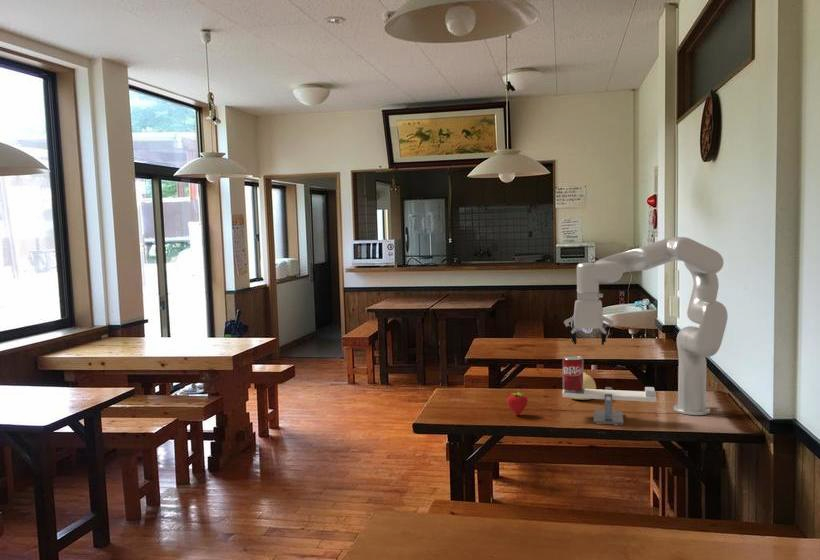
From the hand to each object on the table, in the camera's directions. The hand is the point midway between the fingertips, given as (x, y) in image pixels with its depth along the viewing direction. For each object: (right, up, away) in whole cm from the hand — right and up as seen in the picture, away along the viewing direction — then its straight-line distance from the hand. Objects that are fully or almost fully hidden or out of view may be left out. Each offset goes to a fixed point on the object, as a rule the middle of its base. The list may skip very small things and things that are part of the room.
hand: (588, 344), depth 244 cm
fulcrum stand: (+7, -27, -1) cm, 28 cm away
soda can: (-5, -17, +2) cm, 18 cm away
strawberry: (-25, -27, +7) cm, 37 cm away
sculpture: (+4, -25, +28) cm, 38 cm away
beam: (+7, -18, -1) cm, 19 cm away
